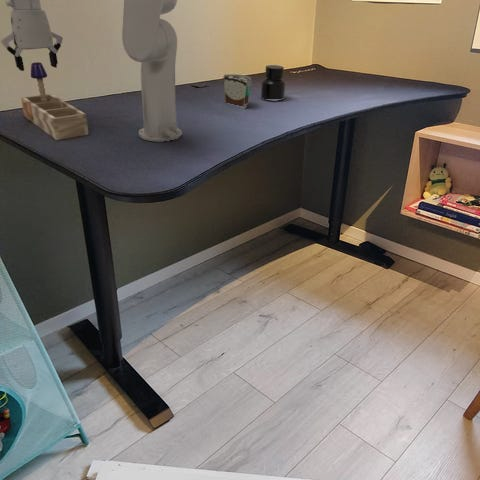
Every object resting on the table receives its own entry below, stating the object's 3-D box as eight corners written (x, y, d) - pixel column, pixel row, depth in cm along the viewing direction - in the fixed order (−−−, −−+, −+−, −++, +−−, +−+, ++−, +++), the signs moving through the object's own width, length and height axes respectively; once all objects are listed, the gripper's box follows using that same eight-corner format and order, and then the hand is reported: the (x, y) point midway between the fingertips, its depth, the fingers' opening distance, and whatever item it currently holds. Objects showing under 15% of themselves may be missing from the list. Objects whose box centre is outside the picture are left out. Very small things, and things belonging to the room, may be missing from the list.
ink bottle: (288, 99, 183) (291, 67, 177) (276, 103, 177) (279, 70, 171) (268, 94, 188) (270, 63, 182) (255, 98, 182) (257, 66, 176)
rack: (88, 134, 137) (86, 114, 134) (54, 140, 132) (51, 119, 129) (54, 112, 154) (51, 93, 151) (23, 116, 149) (19, 97, 146)
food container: (257, 106, 172) (259, 78, 167) (246, 109, 168) (248, 81, 163) (233, 99, 179) (234, 72, 174) (222, 102, 175) (222, 74, 170)
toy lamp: (44, 121, 146) (35, 65, 137) (35, 118, 148) (25, 62, 139) (57, 117, 149) (49, 62, 141) (47, 115, 151) (38, 60, 143)
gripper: (-3, 7, 125) (12, 73, 133) (61, 5, 134) (71, 67, 143) (-11, 4, 130) (4, 69, 138) (52, 3, 139) (61, 63, 148)
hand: (38, 68), depth 141 cm, fingers open, 9 cm apart
